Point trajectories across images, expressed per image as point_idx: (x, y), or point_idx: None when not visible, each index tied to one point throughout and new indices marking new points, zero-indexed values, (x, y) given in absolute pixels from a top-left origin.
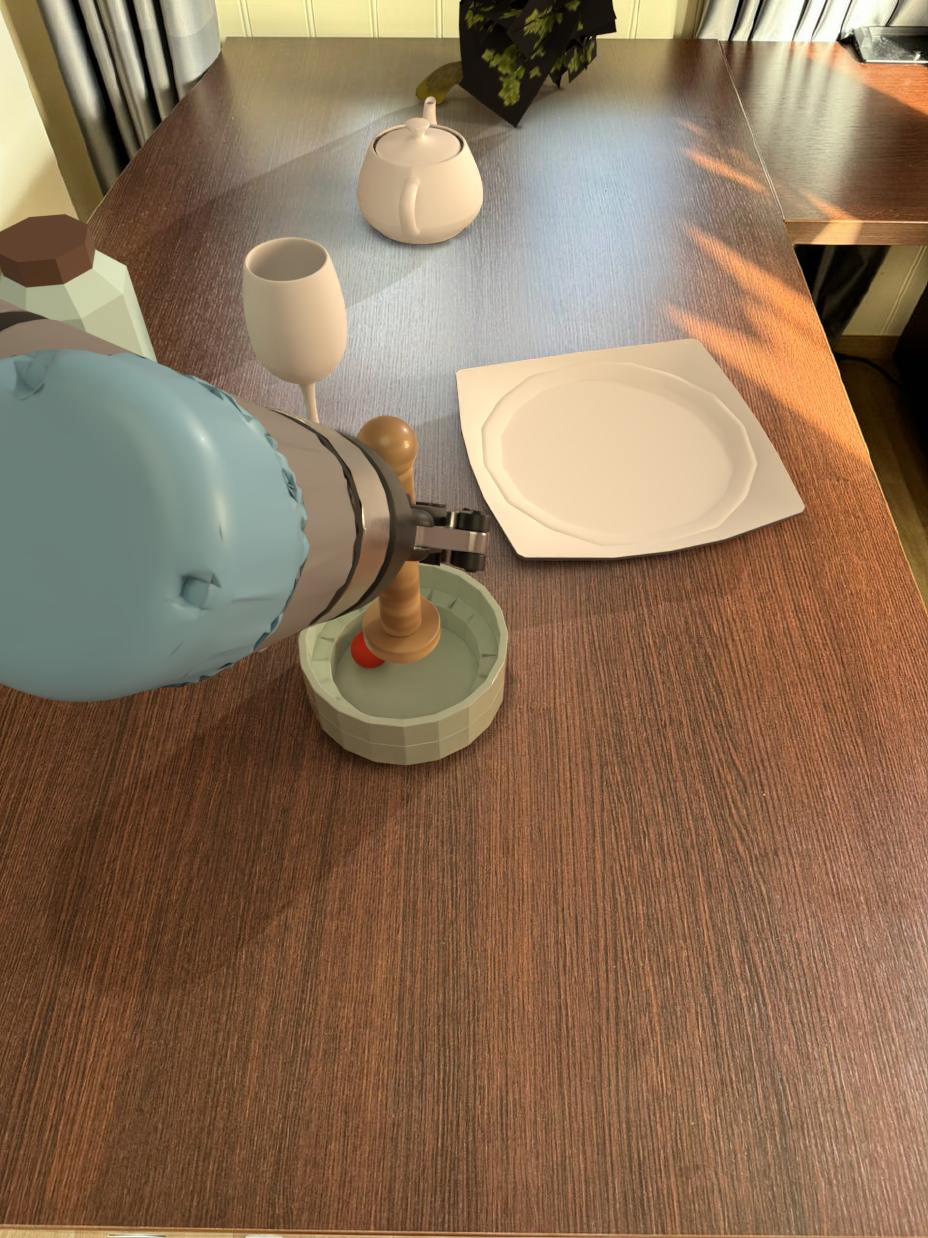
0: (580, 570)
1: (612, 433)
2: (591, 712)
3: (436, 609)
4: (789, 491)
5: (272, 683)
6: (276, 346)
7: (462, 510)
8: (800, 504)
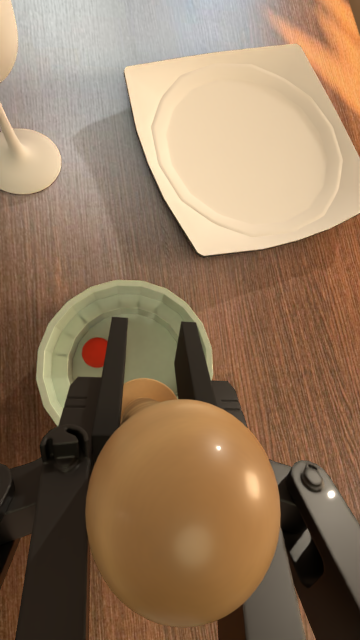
0: (236, 255)
1: (245, 131)
2: (256, 372)
3: (175, 396)
4: None
5: (22, 382)
6: None
7: (319, 509)
8: None
